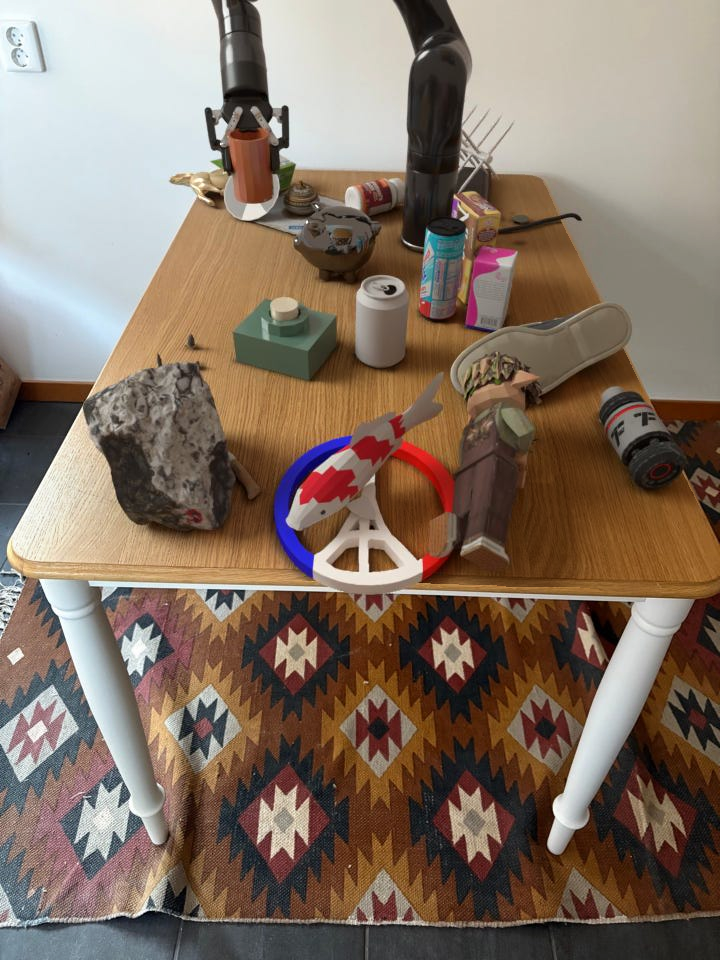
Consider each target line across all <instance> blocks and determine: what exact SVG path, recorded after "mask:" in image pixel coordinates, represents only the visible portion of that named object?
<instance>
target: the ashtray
mask: <svg viewBox="0 0 720 960" xmlns="http://www.w3.org/2000/svg"><path fill="white" fill-rule="evenodd" d="M512 221H513V222H514V223H515V222H517V223H519V224H520V225H525V224H528V223H529V221H530V217H529V216H528V215H526V214H516V215H514V216H513V218H512Z"/></svg>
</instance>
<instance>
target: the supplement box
mask: <svg viewBox="0 0 720 960" xmlns="http://www.w3.org/2000/svg"><path fill="white" fill-rule="evenodd" d="M517 259H518V250H513V249H506V248H500V247H496V246H495V247H488V246H482V247H481V250H480V252H479V254H478V255H477V257H476V259H475V261H474V268H473V275H472V282H471V289H470V296H469V303H468V304H467V311H466V318H465V323H464V324H465V328H467V329H472V330H477V331H482V332H487V333H488V332H489V333H493V332H495V331H497V330H500V329H502V328H503V327H504V324H505V321H506V319H507V315H508V308H509V303H510V296H511V292H512V287H513V280H514V275H515V270H516V264H517Z"/></svg>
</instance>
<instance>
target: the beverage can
mask: <svg viewBox="0 0 720 960" xmlns="http://www.w3.org/2000/svg"><path fill="white" fill-rule="evenodd" d="M465 234H466V224H465V223H464V222H463V221H461V220H459V219H457V218H453V217H435V218H432V219H430V220H429V221H428V222H427V228H426V236H425V247H424V252H423V259H422V270H421V279H420V280H421V281H420V292H419V302H418V310H419V314H420V316H421V317H423V319H425V320H428V321H431V322H437V323H441V322H446V321H449V320H450V319H452V318H453V316H454V314H455V312H456V307H457V301H458V296H457V293H458V286H459V279H460V272H461V264H462V257H463V249H464V242H465Z"/></svg>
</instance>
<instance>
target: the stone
mask: <svg viewBox="0 0 720 960" xmlns="http://www.w3.org/2000/svg"><path fill="white" fill-rule="evenodd" d="M200 370H201V369H200V368H199V365H198V364H197V363H196V362H191V361H177V362H170V363H166V364H162V366H161V367H159V368H158V367H155V368H154V367H149V368H145V369H140V370H137V371H135V372H133V373H131V374H130V375H128V376H126V377H124V378H123V379H121V380H119V381H117V382H116V383H114V384H110V385H108V386H106V387H105V388H103V389H101V390H99V391H97V392H96V393H94V394H93V395H91V396H90V397H88V398H86V399H85V400H84V401H83V404H82V411H83V416H84V419H85V423H86V426H87V430H88V437H89V439H90V440H91V441H92V442H93V444H94V447H95V449H97V450H98V452H100V453H101V454H102V455H103V456H104V458H105V460H106V462H107V464H108V467H109V469H110V476H111V481H112V486H113V488H114V492H115V497H116V500H117V502H118V504H119V506H120V508H121V510H122V511H123V513H124V514H125V515H126V517H127V518H128V519H129V520H130V521H131V522H132V523H134V524H135V525H138V526H147V525H149V524H151V523H153V522H155V523H156V524H160V525H163V526H165V527H167V528H169V529H172V530H176V531H181V532H184V533H188V532H189V531H190V530H207V531H215V530H216V531H217V530H219V529H220V528H222V526H223V524H224V523H225V521H226V519H227V517H228V515H229V514H230V512H231V511H232V494H233V490H234V484H235V482H236V475H235V474H234V473H233V471H232V470H231V462H230V458H229V454H228V451H229V450H228V446H227V444H228V443H227V438H226V435H225V433H224V429H223V426H222V423H221V418H220V415H219V412H218V409H217V406H216V402H215V398H214V396H213V394H212V392H211V391H212V390H211V387H210V385H209V384H208V382H207V381H206V380H205V378H204V377H203V375H202V373H201V371H200Z"/></svg>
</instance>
